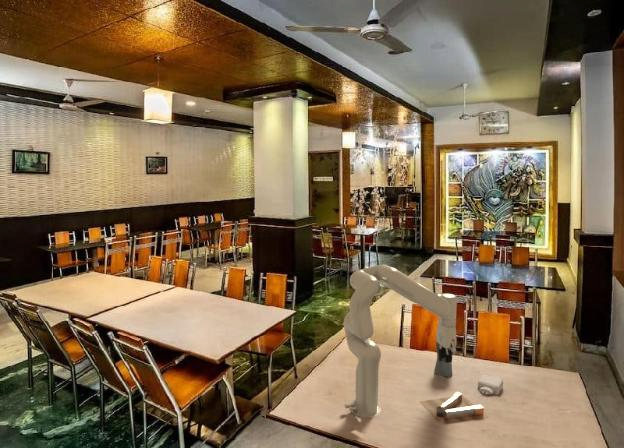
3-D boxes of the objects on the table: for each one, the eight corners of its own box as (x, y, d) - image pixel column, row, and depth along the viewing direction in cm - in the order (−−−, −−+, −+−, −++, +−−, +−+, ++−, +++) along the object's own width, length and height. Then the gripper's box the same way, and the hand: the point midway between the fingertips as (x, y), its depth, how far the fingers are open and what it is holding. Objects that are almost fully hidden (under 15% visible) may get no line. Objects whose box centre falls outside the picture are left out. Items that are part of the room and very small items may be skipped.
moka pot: (456, 370, 216) (458, 333, 214) (449, 382, 203) (450, 343, 201) (438, 366, 221) (439, 330, 219) (429, 377, 208) (430, 339, 206)
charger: (473, 395, 192) (482, 382, 204) (495, 401, 186) (502, 388, 198) (474, 385, 191) (483, 373, 203) (495, 391, 186) (503, 379, 198)
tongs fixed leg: (447, 420, 169) (447, 413, 169) (444, 416, 172) (444, 409, 171) (483, 414, 173) (483, 407, 173) (479, 411, 176) (480, 404, 175)
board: (441, 427, 167) (441, 424, 166) (419, 404, 184) (419, 401, 184) (488, 420, 172) (488, 417, 172) (462, 397, 189) (463, 395, 189)
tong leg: (441, 417, 171) (441, 410, 171) (434, 414, 173) (434, 407, 173) (463, 400, 184) (463, 394, 184) (456, 397, 186) (457, 391, 186)
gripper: (430, 316, 195) (429, 353, 197) (450, 328, 179) (448, 368, 181) (444, 314, 197) (443, 352, 199) (465, 326, 181) (463, 367, 182)
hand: (445, 359), depth 190 cm, fingers open, 3 cm apart
